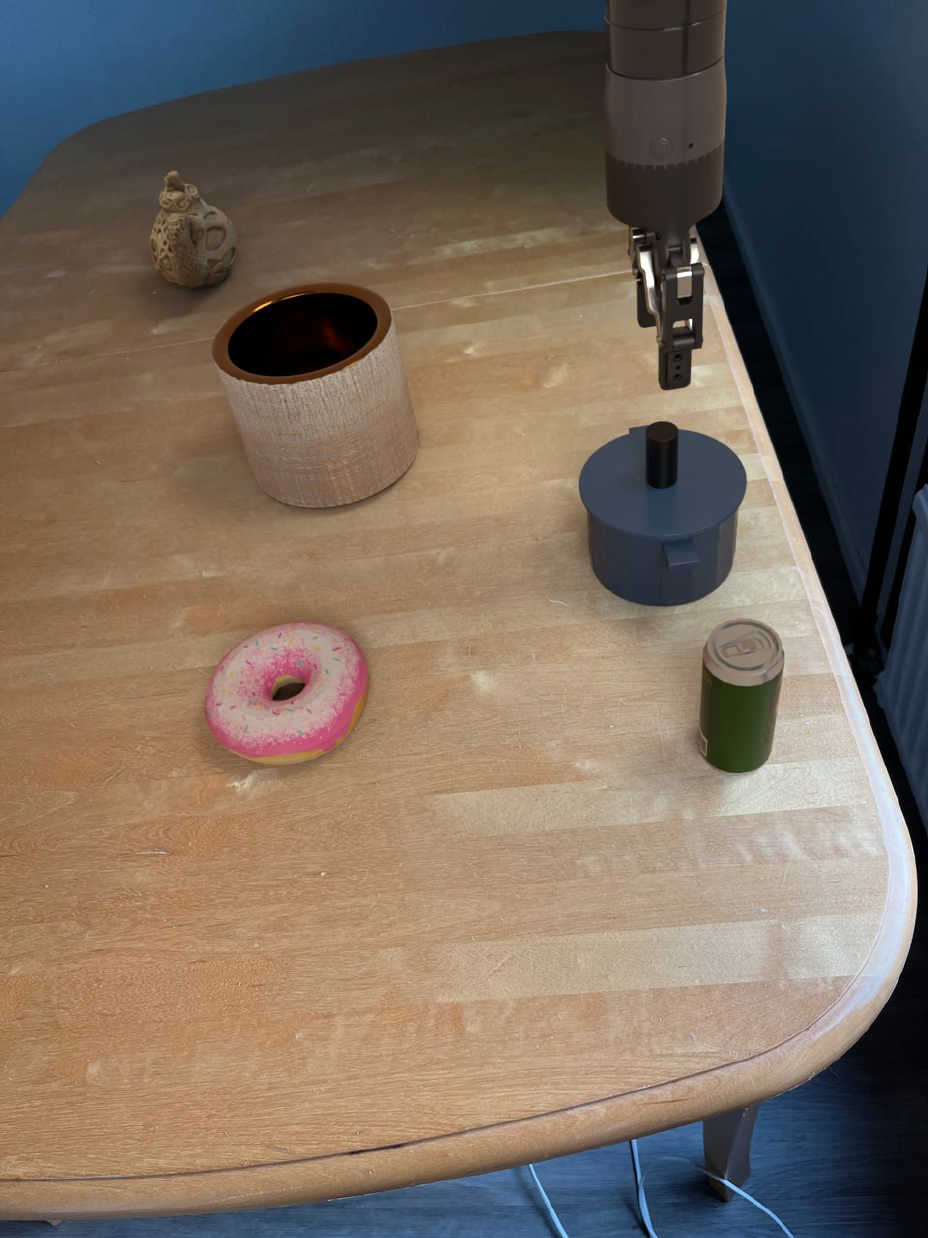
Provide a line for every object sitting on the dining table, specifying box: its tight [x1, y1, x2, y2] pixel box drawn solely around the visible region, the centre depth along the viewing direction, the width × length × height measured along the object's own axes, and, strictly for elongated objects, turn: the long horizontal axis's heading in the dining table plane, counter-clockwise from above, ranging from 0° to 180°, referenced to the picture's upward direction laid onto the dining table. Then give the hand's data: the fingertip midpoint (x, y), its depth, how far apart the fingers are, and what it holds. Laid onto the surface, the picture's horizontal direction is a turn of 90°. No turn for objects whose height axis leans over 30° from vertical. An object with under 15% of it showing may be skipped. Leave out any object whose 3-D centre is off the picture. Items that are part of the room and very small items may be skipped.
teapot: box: [148, 170, 239, 290], centre depth 133 cm, size 21×12×15 cm, turn 13°
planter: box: [211, 281, 420, 510], centre depth 102 cm, size 18×18×16 cm
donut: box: [204, 621, 371, 766], centre depth 84 cm, size 14×13×5 cm
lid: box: [578, 420, 748, 540], centre depth 84 cm, size 14×14×6 cm
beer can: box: [697, 617, 785, 777], centre depth 73 cm, size 5×5×12 cm
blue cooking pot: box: [586, 424, 740, 608], centre depth 89 cm, size 13×18×8 cm
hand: (662, 353), depth 77 cm, fingers open, 8 cm apart
